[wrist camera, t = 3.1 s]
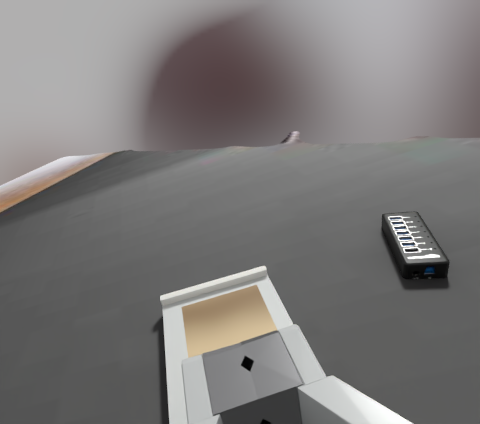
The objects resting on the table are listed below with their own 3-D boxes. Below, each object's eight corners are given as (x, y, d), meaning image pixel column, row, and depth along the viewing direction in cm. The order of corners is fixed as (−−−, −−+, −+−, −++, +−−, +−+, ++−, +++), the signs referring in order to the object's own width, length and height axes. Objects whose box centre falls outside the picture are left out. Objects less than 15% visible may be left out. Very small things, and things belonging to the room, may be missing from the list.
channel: (455, 651, 16) (463, 635, 14) (198, 777, 14) (183, 771, 13) (267, 281, 40) (264, 264, 39) (165, 311, 38) (159, 294, 37)
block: (299, 446, 23) (283, 342, 18) (226, 473, 22) (190, 372, 17) (274, 382, 27) (256, 284, 22) (213, 402, 26) (181, 306, 22)
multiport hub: (416, 225, 45) (417, 210, 44) (448, 280, 36) (451, 262, 35) (380, 228, 46) (381, 213, 45) (403, 281, 37) (404, 264, 36)
